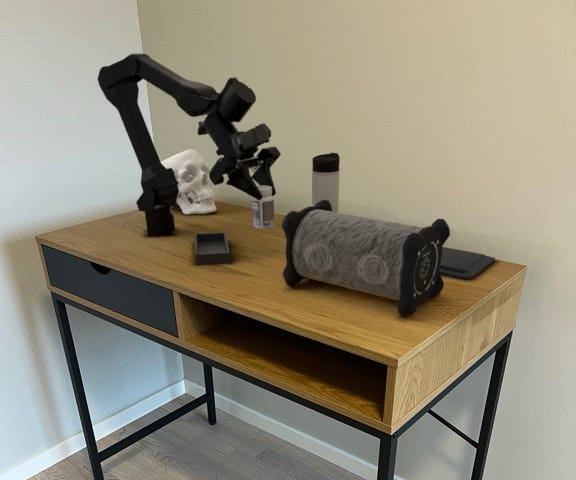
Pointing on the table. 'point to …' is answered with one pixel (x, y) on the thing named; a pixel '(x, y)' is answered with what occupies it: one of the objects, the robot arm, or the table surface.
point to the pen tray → (211, 248)
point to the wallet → (463, 263)
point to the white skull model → (192, 182)
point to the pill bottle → (263, 208)
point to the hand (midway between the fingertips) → (267, 196)
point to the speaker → (365, 254)
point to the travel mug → (326, 179)
